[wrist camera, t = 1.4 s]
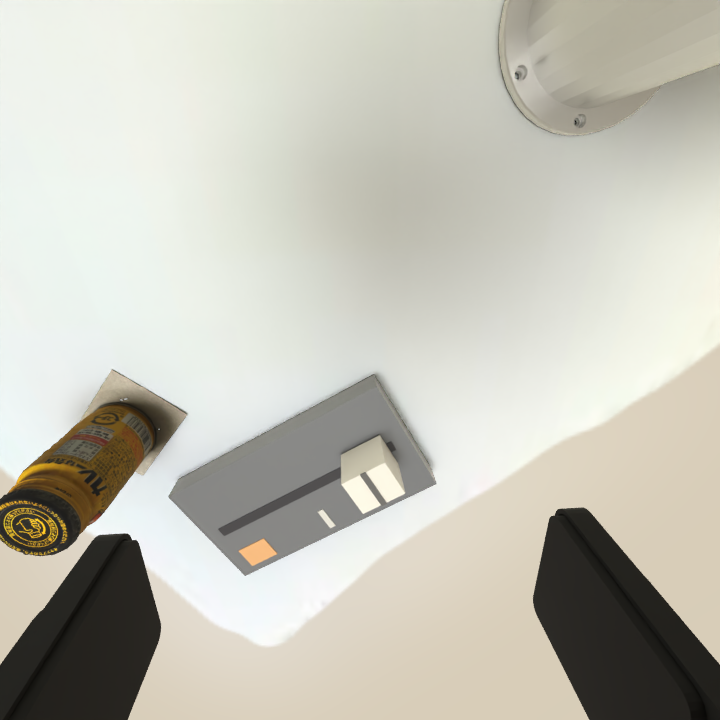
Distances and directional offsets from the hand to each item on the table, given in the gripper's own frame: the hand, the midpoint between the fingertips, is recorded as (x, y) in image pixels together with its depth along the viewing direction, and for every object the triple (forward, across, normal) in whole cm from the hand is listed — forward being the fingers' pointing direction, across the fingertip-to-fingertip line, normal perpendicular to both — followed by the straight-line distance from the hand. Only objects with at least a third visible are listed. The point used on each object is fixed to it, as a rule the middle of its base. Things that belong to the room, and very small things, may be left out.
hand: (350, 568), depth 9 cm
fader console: (+26, +4, +17) cm, 32 cm away
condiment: (+27, +19, +11) cm, 35 cm away
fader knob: (+23, -3, +14) cm, 27 cm away
